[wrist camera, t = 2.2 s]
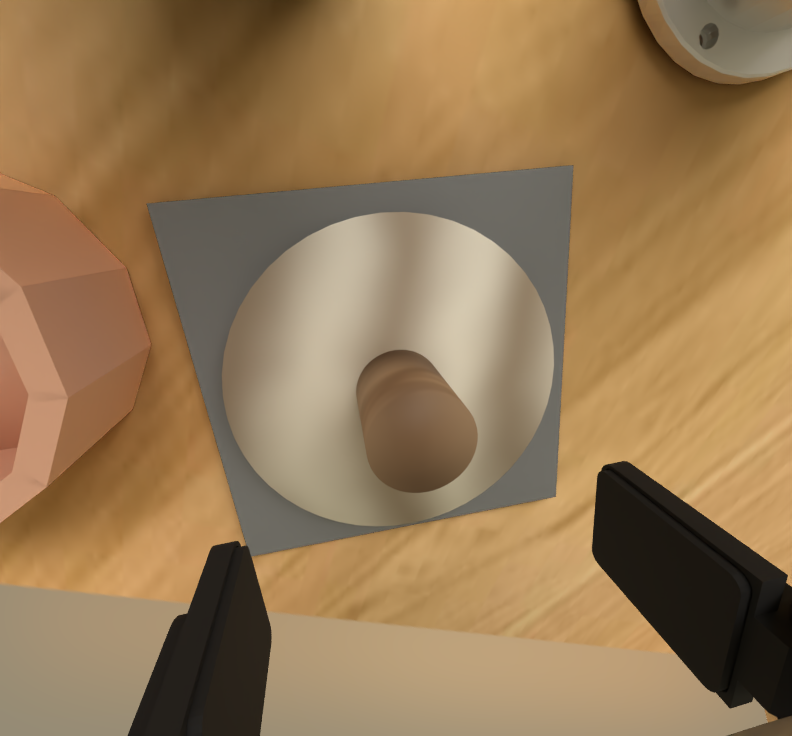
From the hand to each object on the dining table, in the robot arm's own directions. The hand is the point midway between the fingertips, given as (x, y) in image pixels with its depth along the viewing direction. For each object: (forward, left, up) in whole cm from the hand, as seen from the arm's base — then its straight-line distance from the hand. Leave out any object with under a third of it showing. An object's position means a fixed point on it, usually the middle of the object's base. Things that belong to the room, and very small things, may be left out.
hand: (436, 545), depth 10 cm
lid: (-1, -1, -10) cm, 10 cm away
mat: (-1, -1, -11) cm, 11 cm away
